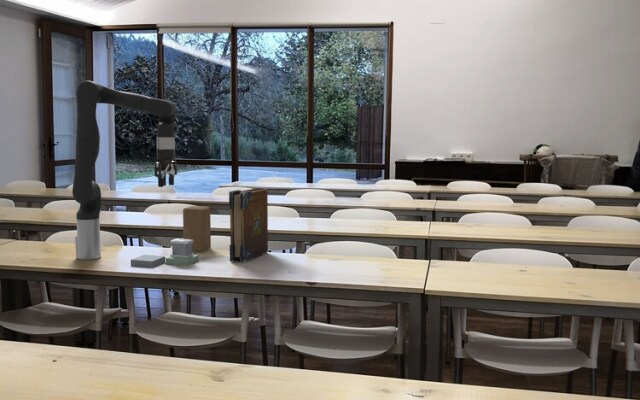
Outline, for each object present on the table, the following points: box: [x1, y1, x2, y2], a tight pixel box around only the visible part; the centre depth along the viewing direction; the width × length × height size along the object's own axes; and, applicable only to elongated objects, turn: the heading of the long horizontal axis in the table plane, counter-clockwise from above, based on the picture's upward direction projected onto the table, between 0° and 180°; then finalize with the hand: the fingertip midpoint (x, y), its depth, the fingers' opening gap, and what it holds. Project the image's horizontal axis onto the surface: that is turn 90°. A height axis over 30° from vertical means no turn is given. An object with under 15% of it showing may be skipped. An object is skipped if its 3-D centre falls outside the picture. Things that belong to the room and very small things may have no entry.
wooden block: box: [182, 205, 212, 253], centre depth 278 cm, size 10×10×20 cm
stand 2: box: [165, 254, 200, 267], centre depth 253 cm, size 10×10×2 cm
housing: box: [170, 238, 195, 258], centre depth 253 cm, size 8×5×7 cm, turn 74°
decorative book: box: [228, 187, 269, 264], centre depth 263 cm, size 23×7×30 cm, turn 157°
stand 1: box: [130, 254, 166, 268], centre depth 250 cm, size 10×10×2 cm
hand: (166, 186), depth 257 cm, fingers open, 8 cm apart
